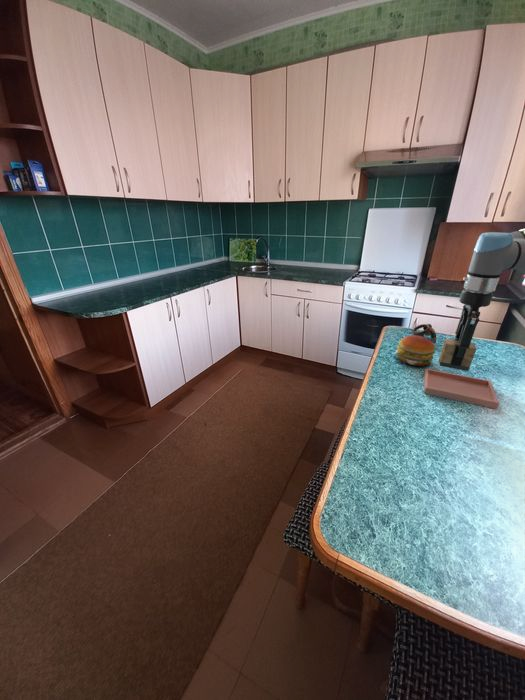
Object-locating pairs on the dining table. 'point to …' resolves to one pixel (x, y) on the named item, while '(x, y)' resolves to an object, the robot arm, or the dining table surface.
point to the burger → (415, 350)
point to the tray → (460, 388)
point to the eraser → (449, 351)
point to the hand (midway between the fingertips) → (454, 361)
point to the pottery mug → (425, 331)
